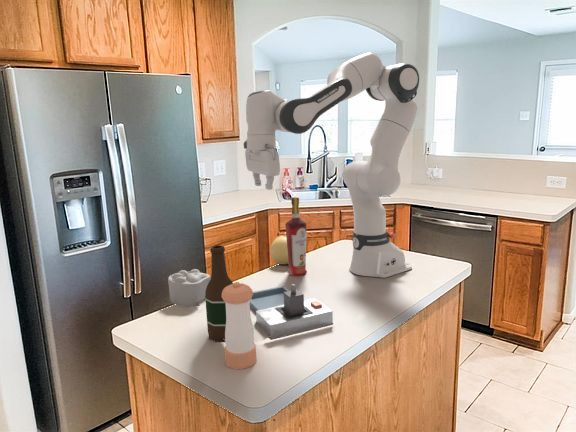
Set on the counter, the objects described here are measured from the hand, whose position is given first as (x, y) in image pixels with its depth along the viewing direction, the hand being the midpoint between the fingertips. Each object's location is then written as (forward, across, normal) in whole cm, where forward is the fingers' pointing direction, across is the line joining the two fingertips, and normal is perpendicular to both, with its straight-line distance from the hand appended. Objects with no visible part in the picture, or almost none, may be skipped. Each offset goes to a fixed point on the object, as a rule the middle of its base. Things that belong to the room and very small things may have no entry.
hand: (263, 187), depth 146 cm
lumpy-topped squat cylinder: (+34, +2, +26) cm, 42 cm away
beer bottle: (+33, -28, +24) cm, 50 cm away
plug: (+32, -31, +5) cm, 45 cm away
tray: (+33, -16, +5) cm, 37 cm away
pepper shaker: (+33, -42, +24) cm, 59 cm away
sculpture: (+33, +20, -16) cm, 42 cm away
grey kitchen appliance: (+33, -31, +5) cm, 46 cm away
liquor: (+33, +4, -13) cm, 36 cm away
